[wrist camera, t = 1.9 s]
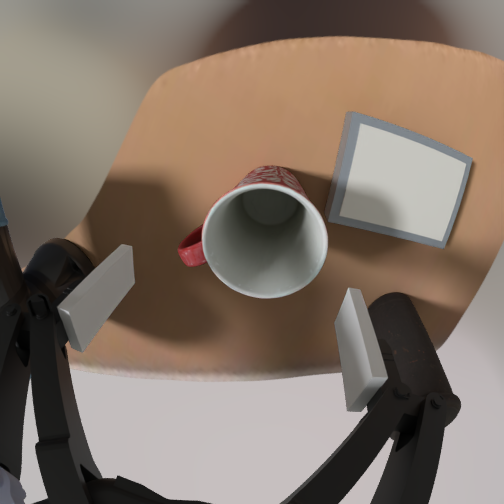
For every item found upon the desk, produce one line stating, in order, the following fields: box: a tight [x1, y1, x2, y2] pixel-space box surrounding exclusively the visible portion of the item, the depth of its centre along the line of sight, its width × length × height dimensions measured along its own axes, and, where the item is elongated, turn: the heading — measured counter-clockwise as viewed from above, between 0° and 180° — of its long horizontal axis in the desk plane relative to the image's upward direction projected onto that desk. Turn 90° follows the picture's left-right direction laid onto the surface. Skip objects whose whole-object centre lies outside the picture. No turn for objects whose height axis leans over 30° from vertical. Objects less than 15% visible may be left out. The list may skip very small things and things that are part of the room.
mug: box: [178, 166, 328, 298], centre depth 26 cm, size 13×9×14 cm
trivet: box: [324, 111, 473, 249], centre depth 27 cm, size 16×12×3 cm
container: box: [367, 293, 461, 440], centre depth 29 cm, size 9×9×20 cm
